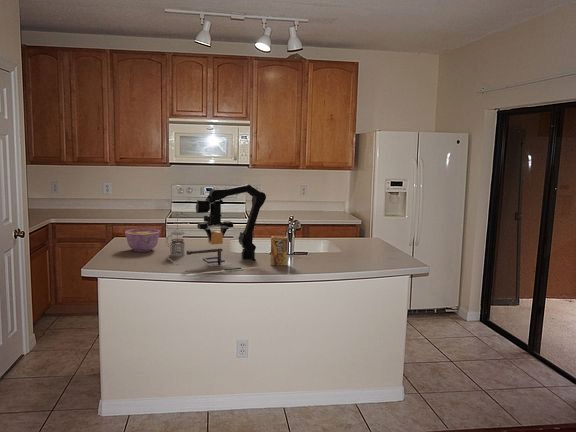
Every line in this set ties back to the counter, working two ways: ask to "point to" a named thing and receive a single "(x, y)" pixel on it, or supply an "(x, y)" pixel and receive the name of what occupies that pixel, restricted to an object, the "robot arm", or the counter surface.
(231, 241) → the counter surface
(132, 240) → the bowl of food
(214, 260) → the socket plate
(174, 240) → the french press
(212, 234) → the orange cube
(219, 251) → the black knob lever
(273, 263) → the candy box
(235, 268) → the pad
